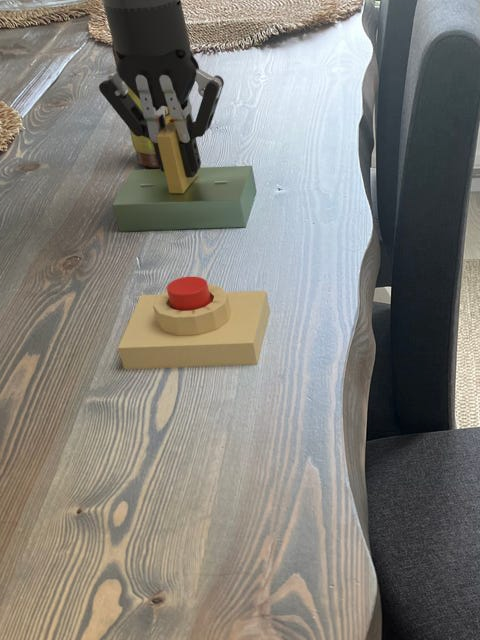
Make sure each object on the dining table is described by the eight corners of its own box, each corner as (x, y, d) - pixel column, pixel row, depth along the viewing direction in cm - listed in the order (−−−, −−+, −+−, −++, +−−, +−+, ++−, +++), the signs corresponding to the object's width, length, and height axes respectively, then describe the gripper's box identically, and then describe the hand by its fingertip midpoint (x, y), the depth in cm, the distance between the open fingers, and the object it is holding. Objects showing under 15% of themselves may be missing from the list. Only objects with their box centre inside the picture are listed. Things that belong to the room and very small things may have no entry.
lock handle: (183, 193, 111) (169, 133, 106) (169, 193, 111) (155, 133, 107) (198, 174, 115) (185, 116, 110) (184, 174, 115) (171, 115, 110)
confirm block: (124, 370, 90) (111, 329, 88) (146, 316, 97) (135, 276, 95) (257, 365, 91) (249, 323, 88) (270, 311, 98) (263, 272, 95)
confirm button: (167, 313, 90) (163, 295, 89) (175, 295, 93) (170, 276, 91) (208, 312, 90) (203, 293, 89) (214, 293, 93) (210, 275, 91)
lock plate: (119, 231, 111) (111, 203, 109) (138, 196, 119) (130, 168, 116) (245, 227, 112) (240, 198, 109) (256, 191, 119) (251, 164, 116)
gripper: (59, 5, 98) (111, 187, 110) (196, 4, 97) (233, 188, 109) (88, -14, 103) (134, 162, 116) (218, -16, 102) (251, 162, 114)
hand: (182, 174), depth 112 cm, fingers closed on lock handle, 2 cm apart
